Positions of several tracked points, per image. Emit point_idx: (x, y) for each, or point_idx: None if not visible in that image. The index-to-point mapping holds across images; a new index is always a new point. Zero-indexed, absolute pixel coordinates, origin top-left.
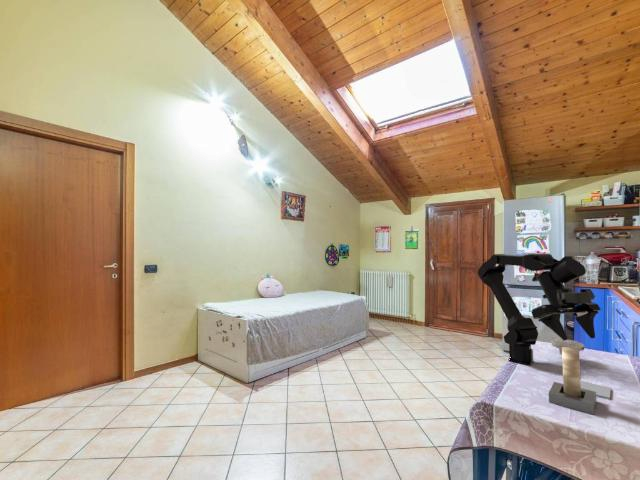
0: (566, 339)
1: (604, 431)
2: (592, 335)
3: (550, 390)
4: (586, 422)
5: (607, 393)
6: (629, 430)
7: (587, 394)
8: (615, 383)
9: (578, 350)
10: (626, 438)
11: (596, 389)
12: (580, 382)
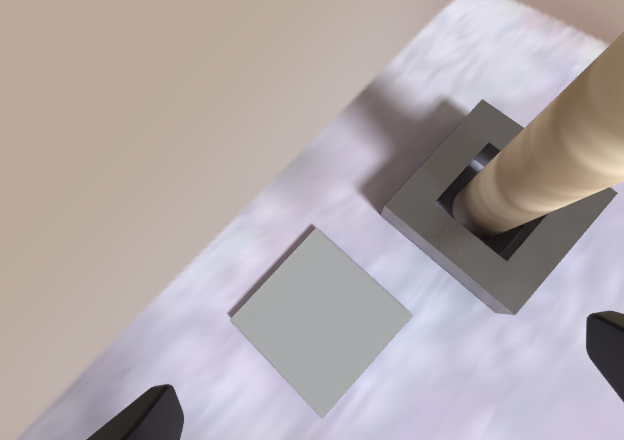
0: (605, 314)
1: (508, 31)
2: (160, 411)
3: (594, 216)
4: (530, 74)
5: (292, 264)
6: (424, 42)
7: (441, 181)
8: (155, 382)
9: (615, 49)
10: (468, 5)
11: (307, 302)
12: (493, 158)
